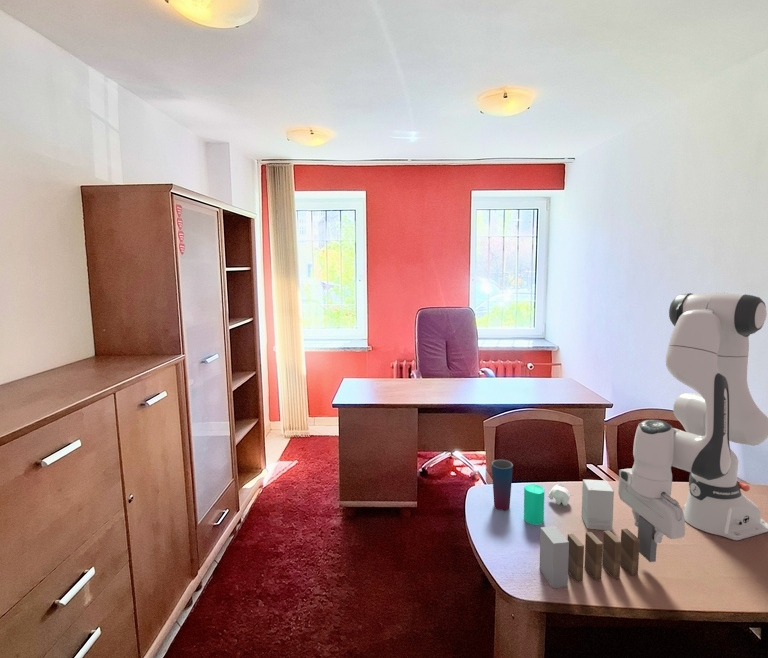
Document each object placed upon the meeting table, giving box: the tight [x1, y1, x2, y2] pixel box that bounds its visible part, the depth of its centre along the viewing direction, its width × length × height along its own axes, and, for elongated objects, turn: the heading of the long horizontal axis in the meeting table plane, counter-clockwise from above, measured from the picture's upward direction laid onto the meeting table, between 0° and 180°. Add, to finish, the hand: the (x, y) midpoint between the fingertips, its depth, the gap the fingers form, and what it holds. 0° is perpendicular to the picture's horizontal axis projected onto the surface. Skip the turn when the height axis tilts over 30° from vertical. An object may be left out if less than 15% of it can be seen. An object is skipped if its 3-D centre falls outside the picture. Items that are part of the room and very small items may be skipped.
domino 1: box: [567, 533, 585, 583], centre depth 115 cm, size 2×5×10 cm, turn 6°
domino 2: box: [584, 531, 603, 581], centre depth 115 cm, size 2×5×10 cm, turn 6°
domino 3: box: [602, 530, 621, 579], centre depth 116 cm, size 2×5×10 cm, turn 6°
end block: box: [539, 525, 569, 589], centre depth 114 cm, size 4×7×12 cm, turn 6°
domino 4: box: [620, 528, 640, 577], centre depth 116 cm, size 2×5×10 cm, turn 6°
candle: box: [523, 483, 545, 526], centre depth 140 cm, size 6×6×12 cm
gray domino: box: [637, 515, 658, 563], centre depth 116 cm, size 2×5×10 cm, turn 7°
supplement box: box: [581, 479, 615, 531], centre depth 137 cm, size 7×7×13 cm
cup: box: [491, 459, 514, 511], centre depth 148 cm, size 7×7×15 cm
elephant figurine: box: [547, 482, 573, 507], centre depth 150 cm, size 7×8×6 cm
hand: (647, 533), depth 116 cm, fingers closed on gray domino, 5 cm apart
